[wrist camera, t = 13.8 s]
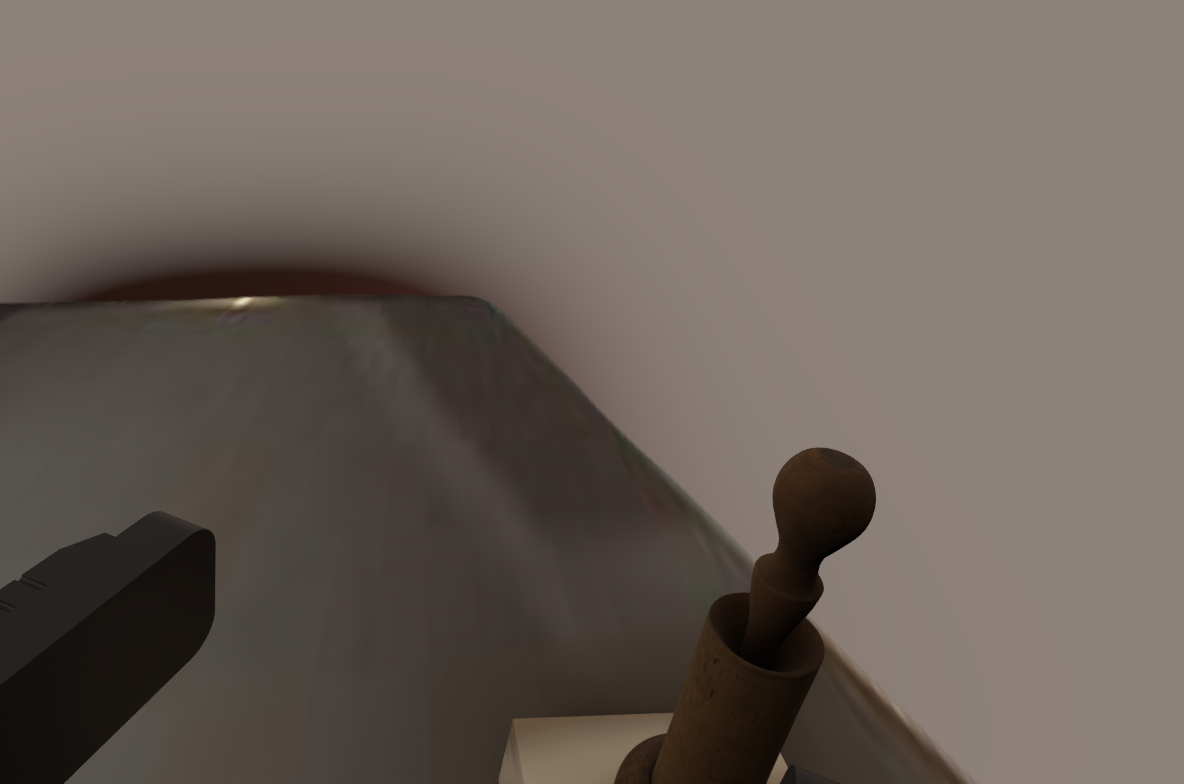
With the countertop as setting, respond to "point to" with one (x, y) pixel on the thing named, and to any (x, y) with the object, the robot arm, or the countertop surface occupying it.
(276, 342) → the countertop surface
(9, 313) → the countertop surface
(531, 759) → the plinth
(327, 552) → the countertop surface
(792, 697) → the mortar and pestle
